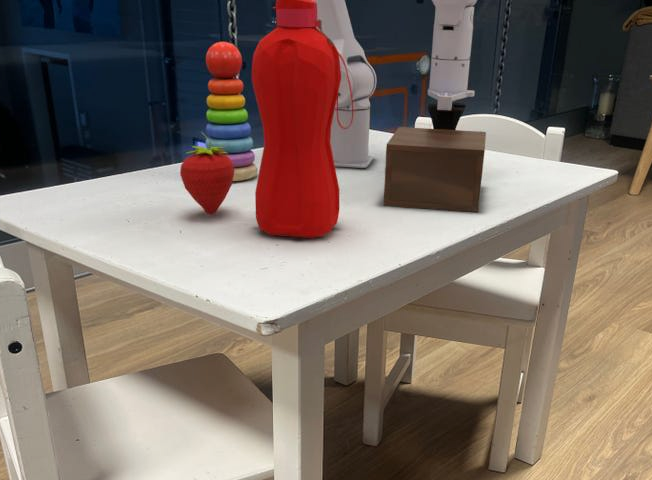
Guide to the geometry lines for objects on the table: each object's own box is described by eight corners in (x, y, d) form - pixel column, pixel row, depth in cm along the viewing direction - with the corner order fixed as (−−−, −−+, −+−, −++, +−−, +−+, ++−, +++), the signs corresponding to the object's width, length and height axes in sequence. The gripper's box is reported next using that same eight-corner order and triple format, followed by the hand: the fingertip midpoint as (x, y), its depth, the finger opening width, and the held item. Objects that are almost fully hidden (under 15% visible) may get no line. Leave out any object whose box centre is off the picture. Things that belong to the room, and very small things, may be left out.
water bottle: (341, 245, 82) (347, -2, 70) (249, 236, 84) (239, -6, 72) (357, 222, 90) (364, -3, 78) (272, 215, 92) (267, -6, 80)
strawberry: (172, 217, 90) (164, 134, 85) (210, 204, 95) (205, 125, 91) (210, 225, 87) (204, 140, 83) (247, 211, 93) (243, 130, 88)
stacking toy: (267, 174, 111) (263, 42, 103) (238, 185, 105) (232, 45, 96) (224, 168, 114) (217, 39, 106) (193, 178, 108) (183, 41, 99)
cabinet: (395, 182, 109) (398, 126, 105) (479, 188, 107) (486, 131, 104) (383, 205, 97) (386, 143, 94) (477, 212, 95) (484, 150, 92)
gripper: (476, 64, 100) (467, 163, 106) (478, 56, 113) (469, 145, 119) (426, 61, 101) (419, 160, 107) (433, 54, 114) (427, 142, 120)
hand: (442, 152), depth 113 cm, fingers closed
